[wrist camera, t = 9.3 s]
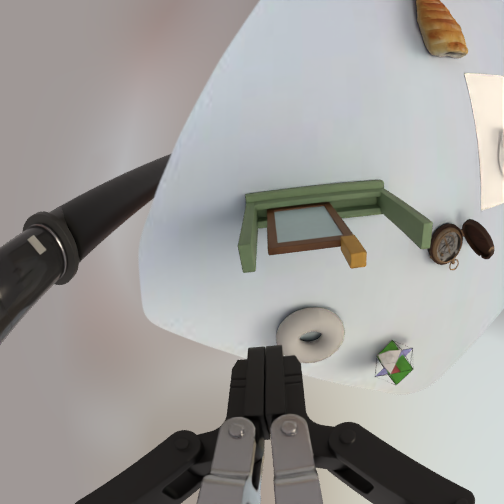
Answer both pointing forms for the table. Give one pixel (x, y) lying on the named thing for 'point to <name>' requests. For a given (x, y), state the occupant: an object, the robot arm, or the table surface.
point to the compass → (459, 242)
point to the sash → (312, 232)
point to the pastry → (440, 29)
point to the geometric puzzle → (394, 362)
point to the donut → (311, 322)
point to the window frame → (343, 201)
